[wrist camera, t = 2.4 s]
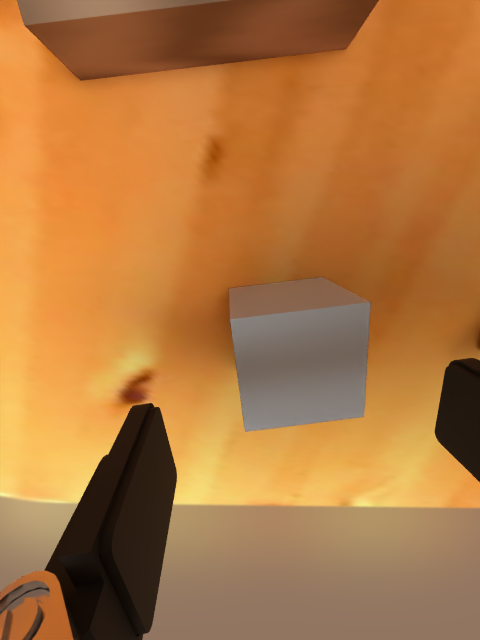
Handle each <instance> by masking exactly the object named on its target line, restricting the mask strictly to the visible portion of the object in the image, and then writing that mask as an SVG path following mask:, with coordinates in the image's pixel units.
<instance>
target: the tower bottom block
mask: <svg viewBox="0 0 480 640" xmlns="http://www.w3.org/2000/svg"><path fill="white" fill-rule="evenodd" d="M378 1H379V0H17V2H18V6H19V9H20V12H21V16H22V19H23V22H24V25H25V26H26V27H27V28H28V29H29V30H30V31H31V32H32V33H33V34H34V35H35V36H36V37H37V38H38V39H39V40H40V41H41V42H42V43H43V44H44V45H45V46H46V47H47V48H48V49H49V50H50V51H51V52H52V53H53V54H54V55H55V56H56V57H57V58H58V59H59V60H60V61H61V62H62V63H63V64H64V65H65V66H66V67H67V68H68V69H69V70H70V71H71V72H72V73H73V74H74V75H75V76H76V77H78V78H79V79H80V80H90V79H98V78H107V77H115V76H123V75H132V74H140V73H149V72H157V71H166V70H174V69H182V68H191V67H199V66H208V65H216V64H224V63H233V62H241V61H250V60H258V59H267V58H275V57H283V56H292V55H300V54H309V53H317V52H325V51H334V50H342V49H347V47H348V46H349V44H350V43H351V41H352V40H353V38H354V37H355V35H356V34H357V32H358V31H359V29H360V28H361V26H362V25H363V23H364V22H365V20H366V19H367V17H368V16H369V14H370V13H371V11H372V10H373V8H374V7H375V5H376V4H377V2H378Z"/></svg>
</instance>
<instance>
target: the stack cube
mask: <svg viewBox="0 0 480 640" xmlns="http://www.w3.org/2000/svg"><path fill="white" fill-rule="evenodd" d="M229 306H230V324H231V331H232V338H233V346H234V353H235V361H236V368H237V376H238V383H239V390H240V398H241V405H242V413H243V420H244V428H245V432H247V431H255V430H263V429H271V428H279V427H287V426H295V425H303V424H311V423H319V422H327V421H335V420H343V419H351V418H359V417H364V408H365V391H366V374H367V357H368V340H369V323H370V306H371V302H369V301H368V300H366V299H364V298H362V297H360V296H358V295H356V294H354V293H352V292H351V291H349V290H347V289H345V288H343V287H341V286H339V285H337V284H335V283H334V282H332V281H330V280H328V279H326V278H324V277H317V278H309V279H301V280H292V281H284V282H276V283H268V284H260V285H251V286H243V287H235V288H229Z"/></svg>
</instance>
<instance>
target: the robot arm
mask: <svg viewBox="0 0 480 640" xmlns="http://www.w3.org/2000/svg"><path fill="white" fill-rule="evenodd" d="M435 435H436V438H437V440H438V441H439V442H440V444H441V445H442V446H444V447H445V448H446V449H447V450H448V451H449V452H450V453H451V454H452V455H453V456H454V457H455V458H456V459H457V460H458V461H459V462H460V463H461V464H462V465H463V466H464V467H465V468H466V469H467V470H468V471H469V472H470V473H471V474H472V475H473V476H474V477H475V478H476V479H477V480H478V481H479V482H480V361H479V360H477V359H475V358H468V359H460V360H454V361H452V362H451V363H450V364H449V366H448V367H447V368H446V370H445V375H444V380H443V386H442V392H441V398H440V403H439V409H438V415H437V421H436V427H435ZM176 482H177V472H176V467H175V463H174V459H173V456H172V452H171V448H170V444H169V441H168V437H167V433H166V429H165V426H164V422H163V418H162V414H161V411H160V408H159V407H154V405H153V404H152V403H149V404H141V405H134V406H132V408H131V409H130V411H129V413H128V416H127V418H126V420H125V422H124V424H123V426H122V428H121V430H120V432H119V434H118V436H117V438H116V440H115V442H114V444H113V446H112V448H111V450H110V452H109V454H108V455H105V456H104V457H103V458H102V460H101V461H100V463H99V465H98V467H97V469H96V470H95V472H94V474H93V476H92V478H91V480H90V482H89V484H88V486H87V488H86V490H85V492H84V494H83V496H82V498H81V500H80V502H79V504H78V506H77V508H76V510H75V512H74V514H73V516H72V517H71V519H70V522H69V523H68V525H67V527H66V529H65V531H64V533H63V535H62V537H61V539H60V541H59V543H58V545H57V547H56V549H55V551H54V553H53V555H52V557H51V559H50V561H49V563H48V565H47V566H46V569H45V570H44V571H36V572H33V573H30V574H27V575H25V576H22V577H21V578H19V579H17V580H16V581H14V582H13V583H11V584H10V585H8V586H7V587H5V588H4V589H3V590H2V591H1V592H0V640H142V638H143V634H144V633H148V632H149V631H150V629H151V626H152V622H153V617H154V611H155V605H156V599H157V594H158V587H159V581H160V576H161V570H162V564H163V558H164V552H165V547H166V540H167V535H168V529H169V522H170V517H171V511H172V506H173V500H174V494H175V488H176Z"/></svg>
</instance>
